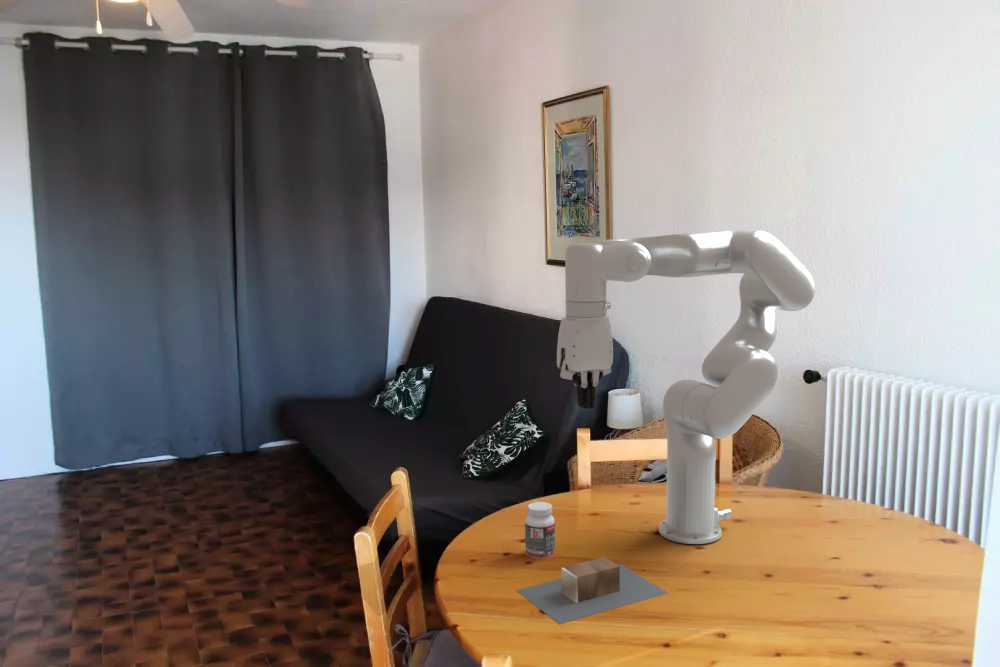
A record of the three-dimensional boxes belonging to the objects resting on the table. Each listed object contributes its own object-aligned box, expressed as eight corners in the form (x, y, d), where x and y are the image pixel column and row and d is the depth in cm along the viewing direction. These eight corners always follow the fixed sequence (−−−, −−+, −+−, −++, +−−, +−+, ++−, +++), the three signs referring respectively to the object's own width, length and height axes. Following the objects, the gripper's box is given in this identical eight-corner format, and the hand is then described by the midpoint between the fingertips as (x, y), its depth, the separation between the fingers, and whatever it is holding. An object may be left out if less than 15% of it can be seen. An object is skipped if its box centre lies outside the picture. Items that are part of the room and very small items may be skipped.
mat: (619, 566, 157) (619, 563, 156) (668, 596, 144) (668, 592, 144) (516, 593, 146) (516, 590, 146) (559, 627, 134) (559, 624, 134)
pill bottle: (552, 562, 159) (552, 512, 158) (523, 560, 160) (522, 510, 159) (556, 550, 165) (556, 501, 163) (528, 548, 166) (527, 500, 164)
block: (561, 592, 145) (604, 581, 149) (575, 603, 141) (619, 591, 145) (561, 567, 144) (604, 557, 149) (575, 577, 140) (619, 566, 145)
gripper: (607, 305, 163) (607, 398, 165) (540, 311, 156) (541, 408, 158) (630, 309, 156) (630, 406, 159) (562, 315, 149) (563, 416, 152)
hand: (586, 406), depth 158 cm, fingers closed
